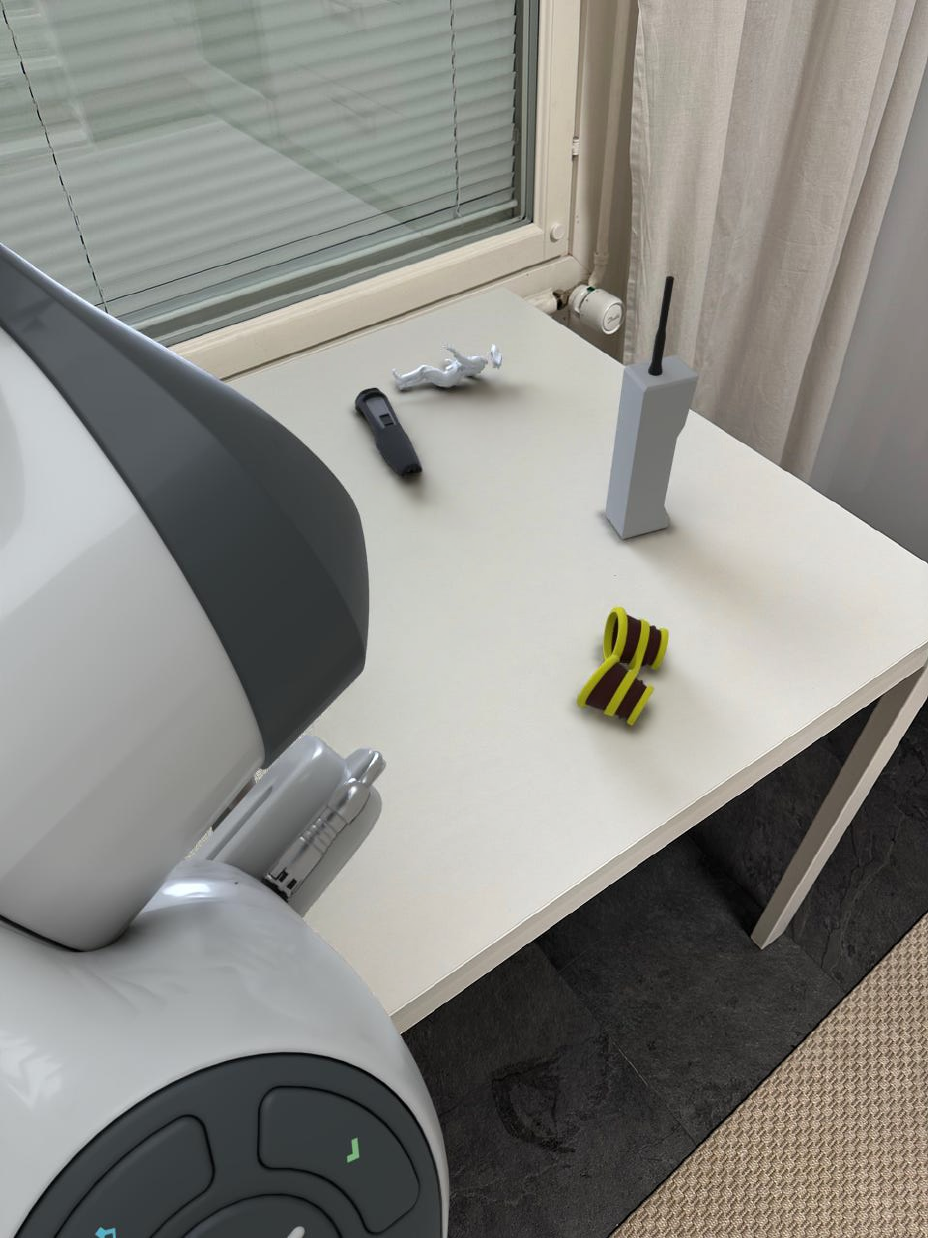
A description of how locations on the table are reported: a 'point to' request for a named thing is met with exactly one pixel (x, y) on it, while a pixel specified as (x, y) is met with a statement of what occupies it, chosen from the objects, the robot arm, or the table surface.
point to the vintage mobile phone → (648, 435)
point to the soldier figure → (449, 369)
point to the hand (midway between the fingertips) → (162, 927)
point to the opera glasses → (613, 681)
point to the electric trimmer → (388, 432)
